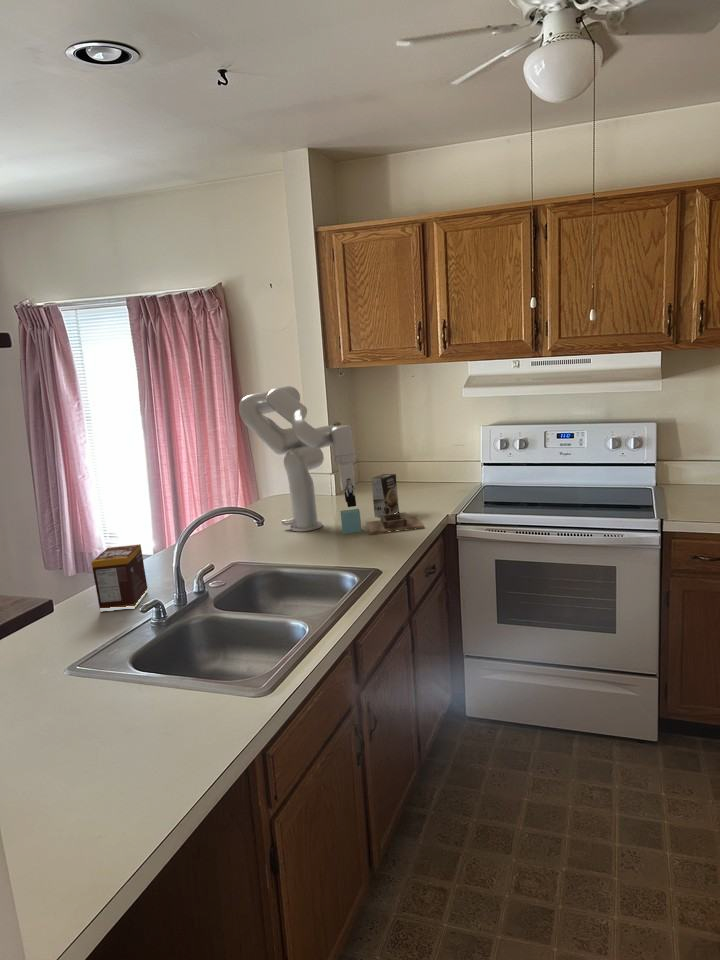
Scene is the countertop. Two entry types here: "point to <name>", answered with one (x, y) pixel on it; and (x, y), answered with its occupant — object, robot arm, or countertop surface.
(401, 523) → the keyed holder
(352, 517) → the keyed block
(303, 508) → the robot arm
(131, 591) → the supplement box
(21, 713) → the countertop surface
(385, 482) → the coffee box
